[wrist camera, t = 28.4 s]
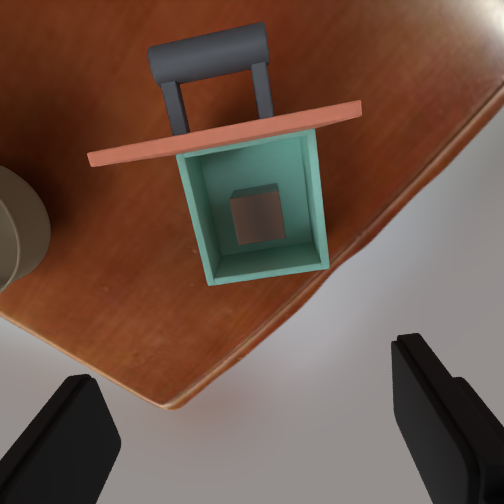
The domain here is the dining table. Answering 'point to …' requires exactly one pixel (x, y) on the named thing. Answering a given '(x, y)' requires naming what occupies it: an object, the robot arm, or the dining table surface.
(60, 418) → the robot arm
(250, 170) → the lunchbox
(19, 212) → the bowl
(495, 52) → the dining table surface
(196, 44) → the lunchbox lid
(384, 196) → the dining table surface
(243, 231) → the block
